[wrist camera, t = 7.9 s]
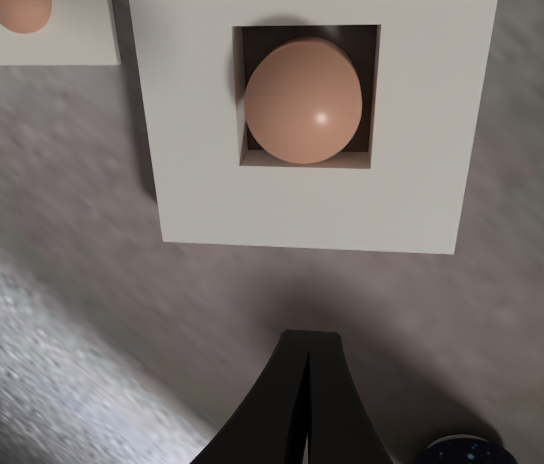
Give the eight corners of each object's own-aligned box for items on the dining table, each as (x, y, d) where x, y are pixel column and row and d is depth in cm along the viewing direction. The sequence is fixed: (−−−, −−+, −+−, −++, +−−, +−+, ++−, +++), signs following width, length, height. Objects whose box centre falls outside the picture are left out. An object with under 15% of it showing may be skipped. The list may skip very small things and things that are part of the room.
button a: (357, 143, 20) (358, 165, 17) (257, 141, 20) (246, 162, 18) (363, 35, 18) (366, 44, 16) (253, 37, 18) (241, 45, 16)
